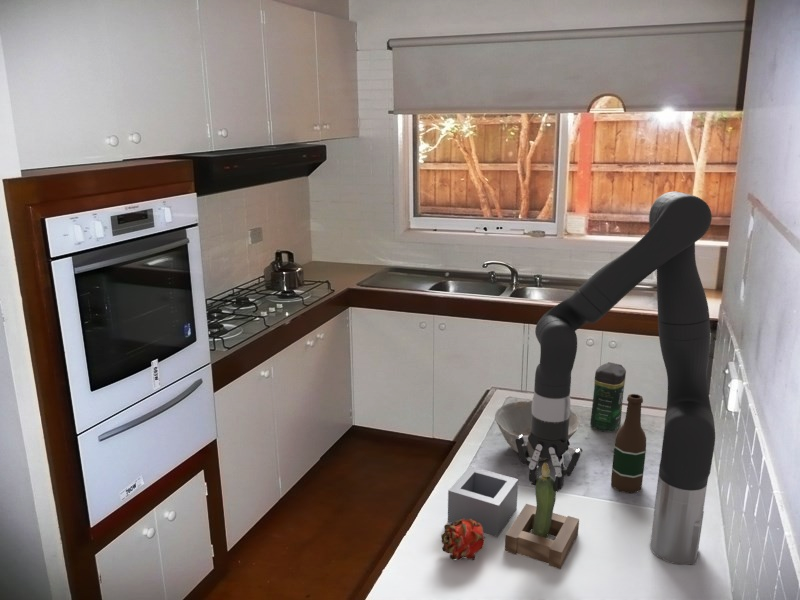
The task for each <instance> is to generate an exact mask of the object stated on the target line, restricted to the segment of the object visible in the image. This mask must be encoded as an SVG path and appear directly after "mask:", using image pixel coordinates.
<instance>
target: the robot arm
mask: <svg viewBox="0 0 800 600" xmlns="http://www.w3.org/2000/svg"><path fill="white" fill-rule="evenodd" d="M648 223H649V230H648V231H647V232H646V233H645V235H643V236H642V237H641V238H640V239H639V241H637V242H636V243H635V244H634V245H632V247H629V249H628V250H626V251H625V252H623V253H622V254H620V255H619V256H617V257H615V258H614V259H612V260H611V261H609V262H608V263H607V264H605V265H604V266H602V267H601V268H600V269H598V270H597V271H596V272H594V273H593V274H592V275H591V276H590V277H589V278H588V279H587V280H586V281H585V282H584V283H583V284H581V285H580V286H579V288H578V289H576V291H574V293H573V294H571V295H570V297H568V298H565V299H564V300H562V301H561V302H559V303H558V304H556V305H555V306H553V307H551V309H549V310H548V311H547V312H546V313H544V314H543V315H542V316H541V318H540V319H539V320H538V322H537V323H536V326H535V338H536V339H537V341H538V343H539V345H540V355H539V357H540V358H539V363H538V365H537V366H536V370H535V376H534V389H533V390H534V391H533V397H532V400H531V401H532V407H531V410H532V416H531V433H530V435H525V436H524V434H520V435H519V436H518V437H517V439H516V440H515V441H516V445H517V449H518V452H517V454H518V456H519V457H518V458H519V460H520V464H521V465H523V466H525V465H526V466H527V468H528V469H529V474H528V481H529V483H530V484H531V486H534V487H535V485H536V481H537V479H538V478H539V467H540V466H539V465H538V464H539V462H540V461H539V459H540V457H541V458H547V459H546V460H549V461H551V463H552V466H553V468H554V471H555V476H554V481H555V486H554V491H556V493H558V492H559V491H561V489H562V488H563V487H564V483H565V476H566V477H571V476H572V473H573V472H574V471H575V469H576V466H577V464H578V461H580V457H581V455H582V453H583V448H582V447H574V446H573V445H571V444H570V441H569V440H570V439H569V440H568V431H569V417H570V410H571V387H572V386H571V384H572V371H573V369H574V364H575V360H576V356H577V351H578V336H577V333H576V331H577V330H579V329H580V328H581V327H583V326H584V325H585V324H587V323H589V324H595V323H596V322H599V321H600V320H601V319H602V318H603V317H604V316H605V315H606V314H608V313H609V312H610V311H611V310H612V309H613V308H614V307H615V306H616V305H618V303H619V302H620V301H621V300H623V299H624V297H625V296H627V295H628V294H629V293H631V291H632V290H634V288H635V287H637V286H638V285H639V284H640V283H641V282H642V281H644V280H645V279H646V278H647V277H649V276H650V275H651V274H653V273H654V272H655V271H656V301H657V326H658V327H657V328H658V336H659V337H658V338H659V345H660V351H661V355H662V360H663V362H664V363H663V364H664V366H665V370H666V371H665V372H666V378H667V393H666V394H667V395H666V396H667V397H666V410H665V415H664V417H665V418H664V429H663V437H662V439H663V440H662V446H661V456H660V462H659V467H658V468H659V469H658V476H657V485H656V493H655V502H654V509H653V510H654V511H653V517H652V518H653V519H652V526H651V533H650V542H649V543H650V544H649V547H650V550H651V551H652V552H653V554H654V555H656V557H658V558H660V560H661V559H662V560H663V561H665V562H668V563H672V564H677V565H678V564H679V565H686V564H687V565H696V562H697V558H698V553H699V548H700V541H701V534H702V528H703V520H704V514H705V513H704V512H705V510H704V509H705V500H706V494H707V486H708V482H709V477H710V474H711V469H712V463H713V457H714V450H715V445H716V444H715V443H716V429H715V427H716V426H715V419H714V415H713V411H712V407H711V401H710V395H709V389H708V379H707V377H708V375H707V373H708V366H709V365H708V364H709V359H710V352H711V351H710V349H711V348H710V347H711V323H710V321H711V319H710V311H709V309H710V308H709V304H708V300H707V296H706V292H705V289H704V286H703V283H702V280H701V277H700V274H699V270H698V267H697V262H696V242H698V241H699V240H700V239H702V238H703V237H704V236H705V235H706V233H708V231H709V229H710V227H711V223H712V211H711V208H710V206H709V204H708V203H707V202H706V201H705V200H703V199H702V198H701V197H698V196H696V195H692V194H689V193H685V192H681V191H680V192H679V191H668V192H665V193H663V194H661V195H660V196H658V197H657V198H656V199H655V201H654V202H653V204H652V205H651V207H650V211H649V215H648ZM528 441H529V443H530V444H531V446H532V448H533V449H534V454H533V456H532V458H530V455H529V451H528V447H527V444H528ZM566 452H568V456H569V458H570V461H569V463H568V465H567V466H565V462H564V461H565V457H564V454H566Z"/></svg>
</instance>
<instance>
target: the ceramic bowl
mask: <svg viewBox="0 0 800 600" xmlns="http://www.w3.org/2000/svg"><path fill="white" fill-rule="evenodd" d="M531 407H532V400H529V401H528V400H520V401H512V402H509V403H507V404H505V405H502V406H501V407H499V408H498V409H497V410H496V411H495V413H494V421H495V422H496V424H497V426H498V429H499V430H500V432H501V435H502V436H503V438H504V440H505V441H506V442H507V444H508V445H509V446H510V448H511V449H512V450H514V451H515V452H516V453H518V449H517V445H516V441H515V440H516V439H517V437H518V436H519V435H520V434H524V436H525V435H530V433H531V416H532V410H531ZM580 425H581V422H580V418H579V416H578V415H577V413H575V412H574V411H572V410H571V409H570V417H569V431H568V440H570V439H571V438H572V437H573V436H574V434H575V433H576V432H577V430H579V428H580ZM527 447H528V451H529V455H530V458H532V456H533V454H534V449H533V448H532V446H531V444H530V443H529V441H528V444H527ZM545 460H548V459H547V458H541V457H540V459H539V462H542V461H545Z"/></svg>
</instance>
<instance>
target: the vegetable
mask: <svg viewBox="0 0 800 600" xmlns="http://www.w3.org/2000/svg"><path fill="white" fill-rule="evenodd" d="M540 473H541V475H540V476H538V479H537V481H536V485H535V486H534V487H535V500H536V501H535V502H536V514H535V518H534V523H533V530H532V534H534V535H537V536H541V537H544V538H547V539H548V535H549V534H548V532H549V529H550V525H551V519H552V514H553V513H554V508H555V504H556V499H557V492H556V491H554V486H555V478H553V476H551V471H550V466H549V464H548V462H543V464H542V466H541V469H540Z"/></svg>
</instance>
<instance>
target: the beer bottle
mask: <svg viewBox="0 0 800 600" xmlns="http://www.w3.org/2000/svg"><path fill="white" fill-rule="evenodd" d="M626 400H627V407H626V413H625V417H624V418H625V419H624V422H623V424H622V425H621V426H619V427H618V430H617V432H616V434H615V438H614V446H613V455H612V456H613V457H612V465H611V466H612V467H611V476H610V477H611V478H610V479H611V481H610V485H611V486H612V487H613V488H614V489H616V490H617V491H618V492H621V493H626V494H627V493H628V494H635V493H638V492H641V490H642V486H643V481H644V480H643V479H644V478H643V477H644V470H645V461H646V453H647V436H646V433H645V431H644V429H643V428H642V427H643V426H642V422H641V419H642V404H643V402H644V398H643V396H642V395H640V394H637V393H631V394H628V395H627V399H626ZM637 491H638V492H637Z"/></svg>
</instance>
